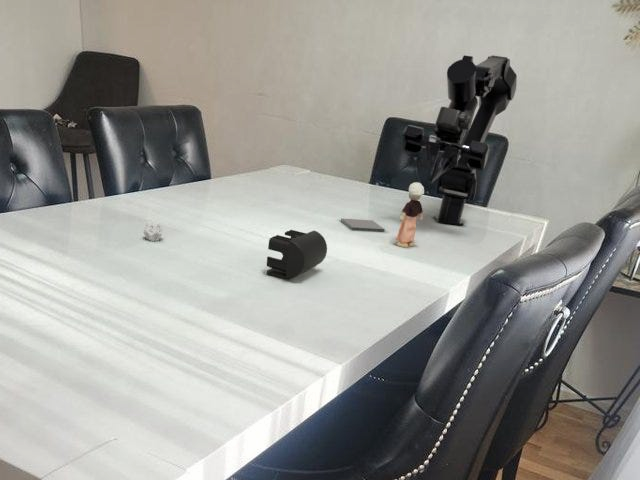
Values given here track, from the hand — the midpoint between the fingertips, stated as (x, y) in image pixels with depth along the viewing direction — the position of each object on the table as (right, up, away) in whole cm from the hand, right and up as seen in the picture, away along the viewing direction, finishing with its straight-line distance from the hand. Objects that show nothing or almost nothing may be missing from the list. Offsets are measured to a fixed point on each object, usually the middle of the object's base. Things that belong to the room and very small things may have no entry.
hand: (430, 181), depth 140 cm
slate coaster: (-13, -6, +11) cm, 18 cm away
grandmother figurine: (-6, -14, 0) cm, 15 cm away
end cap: (-30, -28, -26) cm, 49 cm away
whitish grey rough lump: (-57, -19, -18) cm, 62 cm away
